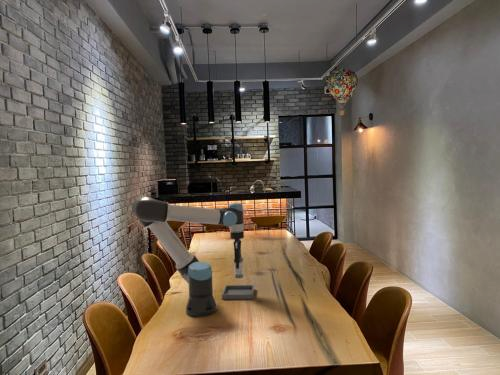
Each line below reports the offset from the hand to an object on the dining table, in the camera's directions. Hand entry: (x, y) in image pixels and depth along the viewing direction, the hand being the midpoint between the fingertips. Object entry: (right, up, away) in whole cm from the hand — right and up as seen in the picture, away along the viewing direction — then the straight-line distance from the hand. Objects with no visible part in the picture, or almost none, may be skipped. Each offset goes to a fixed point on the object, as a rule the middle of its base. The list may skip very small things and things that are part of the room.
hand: (238, 272), depth 206 cm
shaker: (0, -3, 0) cm, 3 cm away
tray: (0, -12, +1) cm, 12 cm away
